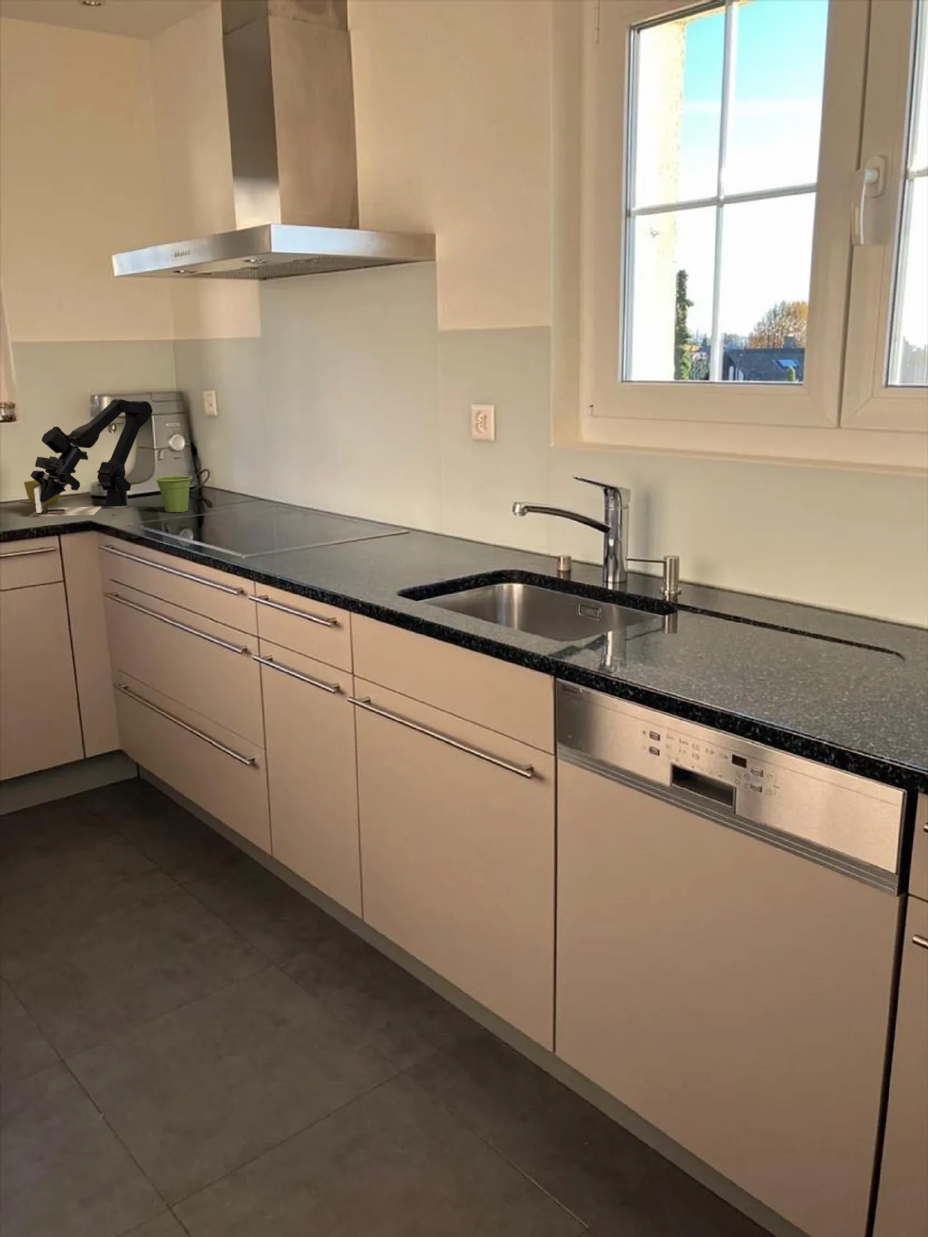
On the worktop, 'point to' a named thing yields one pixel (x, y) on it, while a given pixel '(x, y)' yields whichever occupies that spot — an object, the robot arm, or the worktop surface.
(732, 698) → the worktop surface
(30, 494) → the flower pot
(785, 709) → the worktop surface
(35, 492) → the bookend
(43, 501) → the robot arm
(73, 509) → the board
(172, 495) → the plant pot
